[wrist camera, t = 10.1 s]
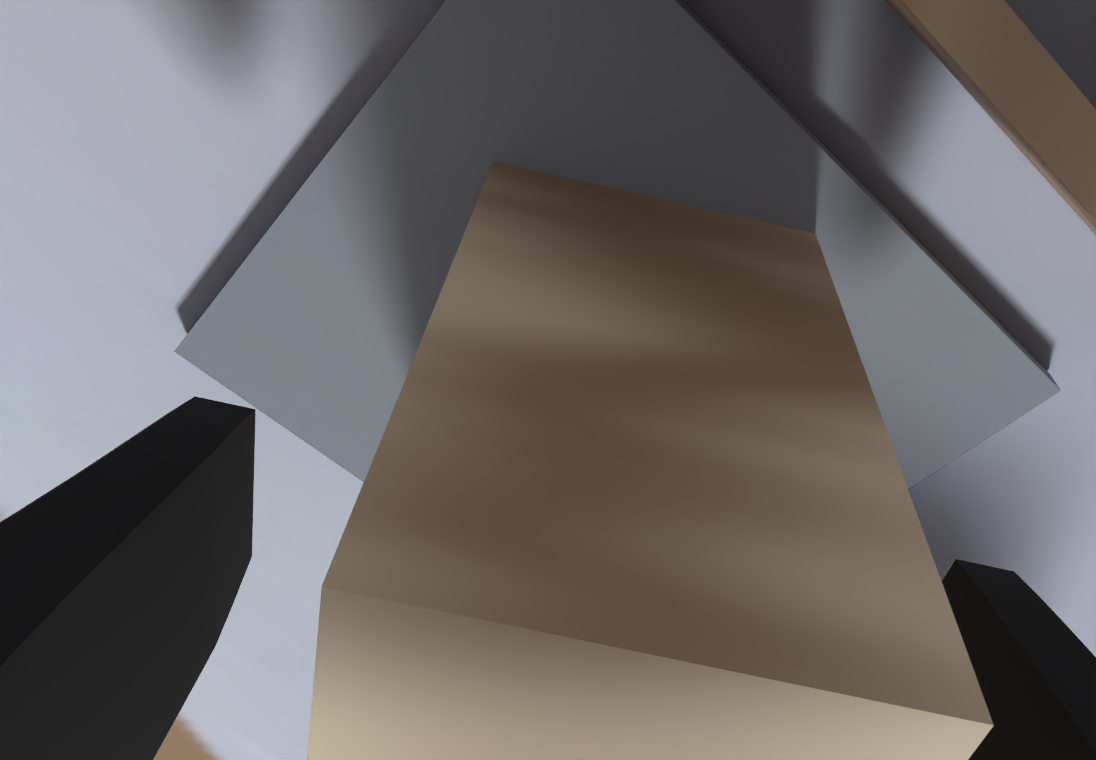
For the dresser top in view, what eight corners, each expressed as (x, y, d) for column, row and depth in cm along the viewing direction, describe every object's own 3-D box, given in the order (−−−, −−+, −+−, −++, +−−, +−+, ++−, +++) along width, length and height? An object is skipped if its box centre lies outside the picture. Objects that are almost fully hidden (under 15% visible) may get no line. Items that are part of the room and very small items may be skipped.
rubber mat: (1049, 374, 12) (1060, 389, 12) (633, 649, 16) (633, 667, 16) (549, -134, 10) (546, -131, 9) (186, 337, 13) (174, 351, 13)
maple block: (815, 233, 11) (992, 724, 5) (699, 530, 14) (735, 1069, 8) (493, 162, 11) (322, 585, 5) (439, 476, 14) (287, 982, 8)
